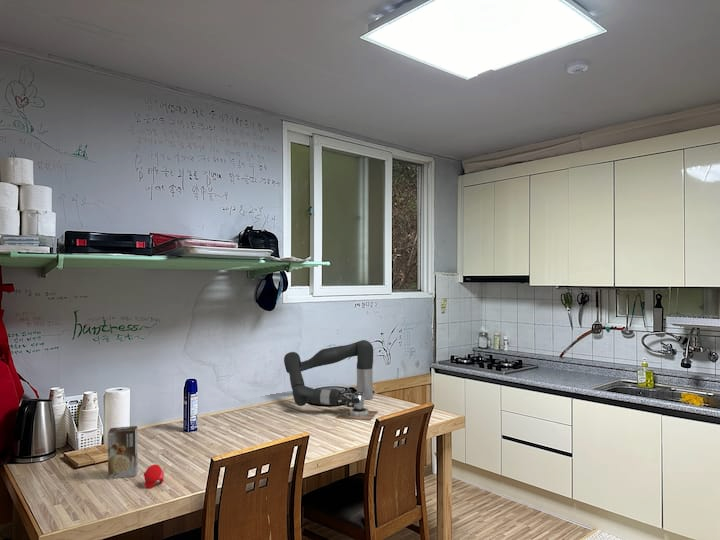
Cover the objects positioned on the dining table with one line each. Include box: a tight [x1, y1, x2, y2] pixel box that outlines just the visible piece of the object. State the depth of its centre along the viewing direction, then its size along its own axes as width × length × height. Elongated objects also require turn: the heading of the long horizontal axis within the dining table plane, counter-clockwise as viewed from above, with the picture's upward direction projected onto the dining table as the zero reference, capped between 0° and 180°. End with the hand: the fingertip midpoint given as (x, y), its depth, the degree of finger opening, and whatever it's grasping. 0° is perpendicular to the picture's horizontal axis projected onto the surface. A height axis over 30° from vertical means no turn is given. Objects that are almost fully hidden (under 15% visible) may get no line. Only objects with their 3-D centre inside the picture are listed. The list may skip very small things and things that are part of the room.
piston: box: [353, 391, 365, 412], centre depth 253 cm, size 5×5×11 cm
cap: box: [143, 464, 165, 490], centre depth 170 cm, size 8×6×6 cm
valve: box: [345, 393, 365, 408], centre depth 274 cm, size 7×7×12 cm
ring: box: [349, 407, 370, 417], centre depth 253 cm, size 9×9×2 cm
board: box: [335, 409, 379, 422], centre depth 254 cm, size 18×18×1 cm
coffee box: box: [107, 425, 139, 479], centre depth 179 cm, size 9×6×16 cm
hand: (361, 398), depth 253 cm, fingers open, 8 cm apart
